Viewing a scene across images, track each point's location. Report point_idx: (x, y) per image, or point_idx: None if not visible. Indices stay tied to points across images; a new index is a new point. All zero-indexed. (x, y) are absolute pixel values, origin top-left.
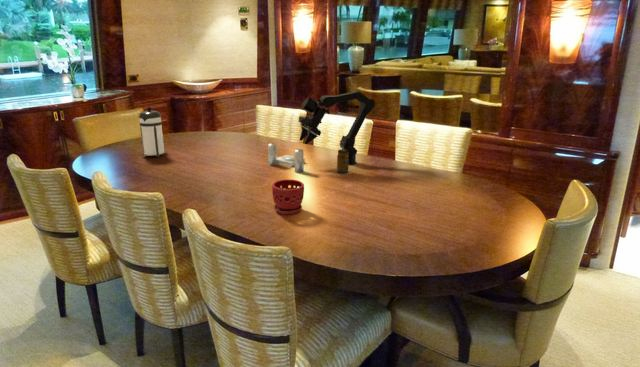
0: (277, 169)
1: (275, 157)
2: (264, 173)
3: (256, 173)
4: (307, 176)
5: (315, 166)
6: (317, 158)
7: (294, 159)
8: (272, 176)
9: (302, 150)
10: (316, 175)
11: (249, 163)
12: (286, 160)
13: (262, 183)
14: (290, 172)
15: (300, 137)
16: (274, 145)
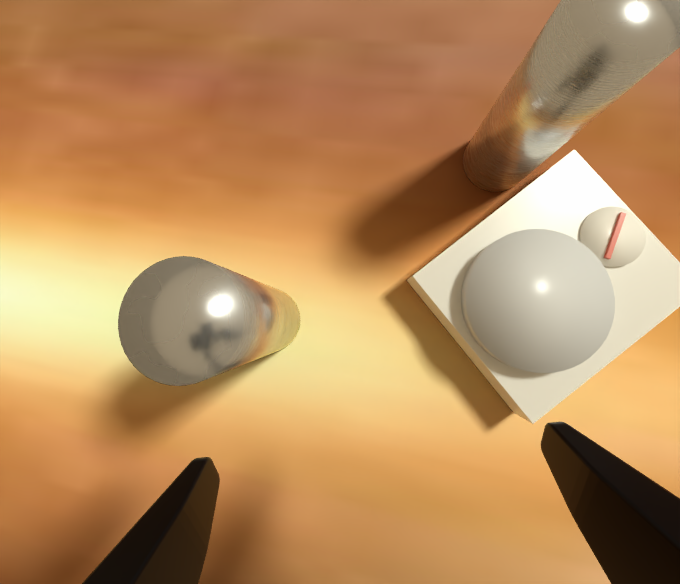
0: (362, 180)
1: (498, 145)
2: (284, 88)
3: (297, 40)
4: None
5: (381, 472)
6: None
7: (468, 317)
8: (204, 130)
9: (138, 364)
10: (146, 421)
11: None
12: (481, 250)
13: (80, 62)
14: (265, 256)
15: (592, 465)
16: (572, 37)
